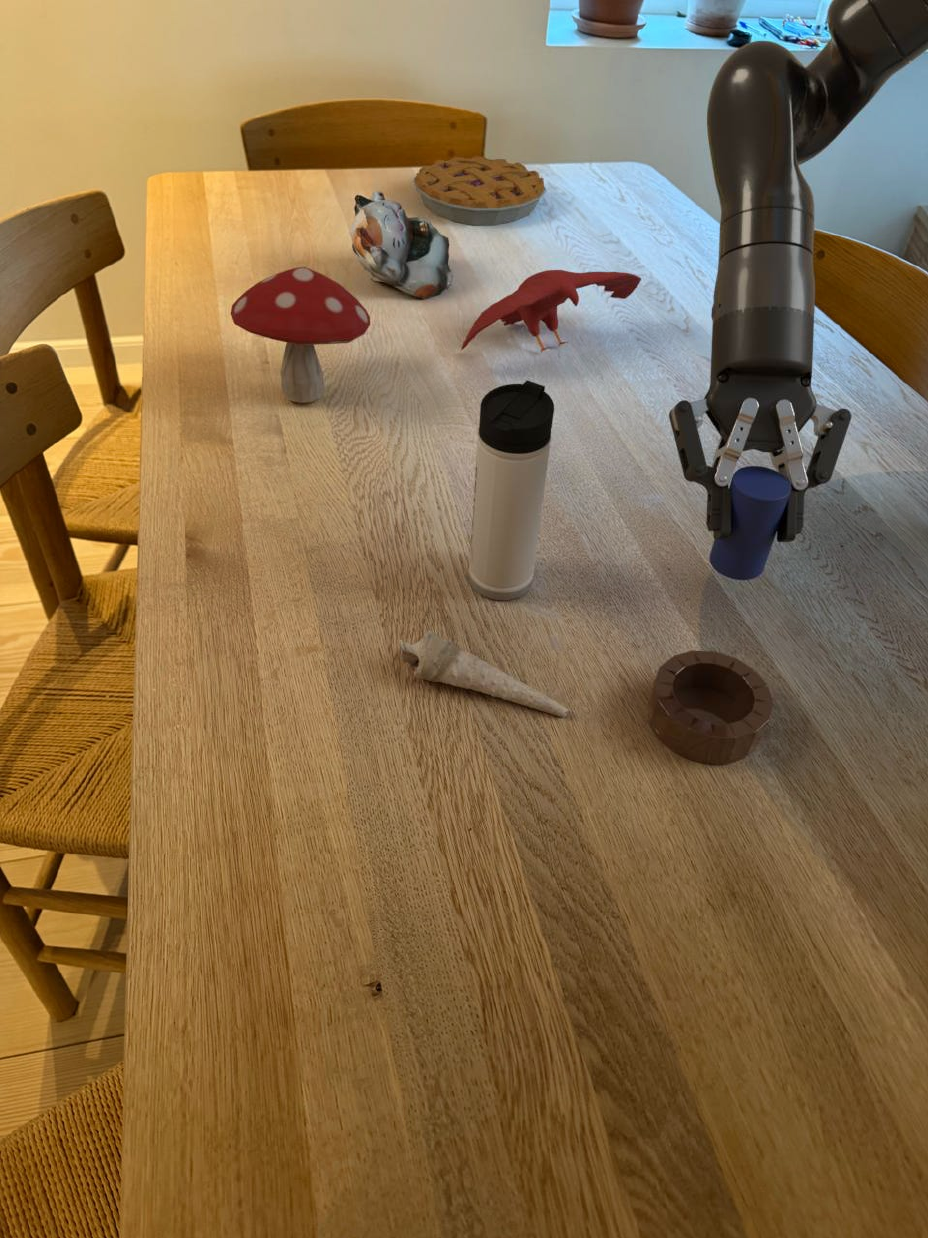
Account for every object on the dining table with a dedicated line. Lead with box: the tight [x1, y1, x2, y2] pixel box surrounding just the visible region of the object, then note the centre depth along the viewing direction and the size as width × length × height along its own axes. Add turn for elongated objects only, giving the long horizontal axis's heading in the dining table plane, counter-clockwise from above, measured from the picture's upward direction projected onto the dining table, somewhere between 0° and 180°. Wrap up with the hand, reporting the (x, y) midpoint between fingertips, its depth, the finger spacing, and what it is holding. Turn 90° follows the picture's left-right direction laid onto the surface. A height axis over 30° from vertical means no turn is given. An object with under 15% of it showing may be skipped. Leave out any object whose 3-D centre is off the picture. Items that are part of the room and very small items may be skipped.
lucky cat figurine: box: [349, 190, 454, 300], centre depth 135 cm, size 15×12×14 cm
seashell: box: [398, 629, 570, 718], centre depth 81 cm, size 4×16×4 cm, turn 71°
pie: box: [412, 155, 547, 226], centre depth 160 cm, size 22×22×5 cm
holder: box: [647, 650, 774, 766], centre depth 80 cm, size 10×10×4 cm
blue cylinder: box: [708, 465, 791, 581], centre depth 75 cm, size 4×4×8 cm
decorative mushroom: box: [230, 266, 371, 404], centre depth 111 cm, size 16×16×15 cm
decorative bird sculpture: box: [460, 269, 642, 353], centre depth 125 cm, size 28×9×15 cm
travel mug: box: [467, 380, 555, 601], centre depth 86 cm, size 6×7×20 cm
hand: (754, 538), depth 74 cm, fingers closed on blue cylinder, 4 cm apart
